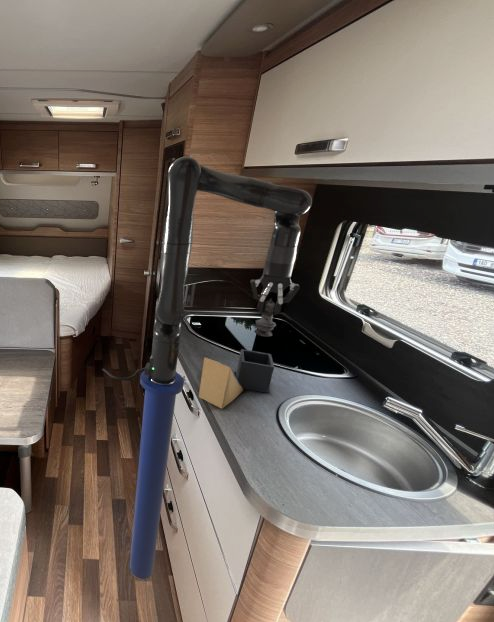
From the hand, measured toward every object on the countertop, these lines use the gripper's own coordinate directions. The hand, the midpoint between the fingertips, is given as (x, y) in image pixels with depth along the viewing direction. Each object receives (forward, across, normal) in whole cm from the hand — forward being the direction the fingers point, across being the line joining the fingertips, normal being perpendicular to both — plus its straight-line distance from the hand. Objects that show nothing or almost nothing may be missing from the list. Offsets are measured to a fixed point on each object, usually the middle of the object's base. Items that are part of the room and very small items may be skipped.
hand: (267, 312), depth 107 cm
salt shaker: (+7, 0, 0) cm, 7 cm away
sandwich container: (+27, +9, +10) cm, 31 cm away
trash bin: (+27, 0, -2) cm, 27 cm away
